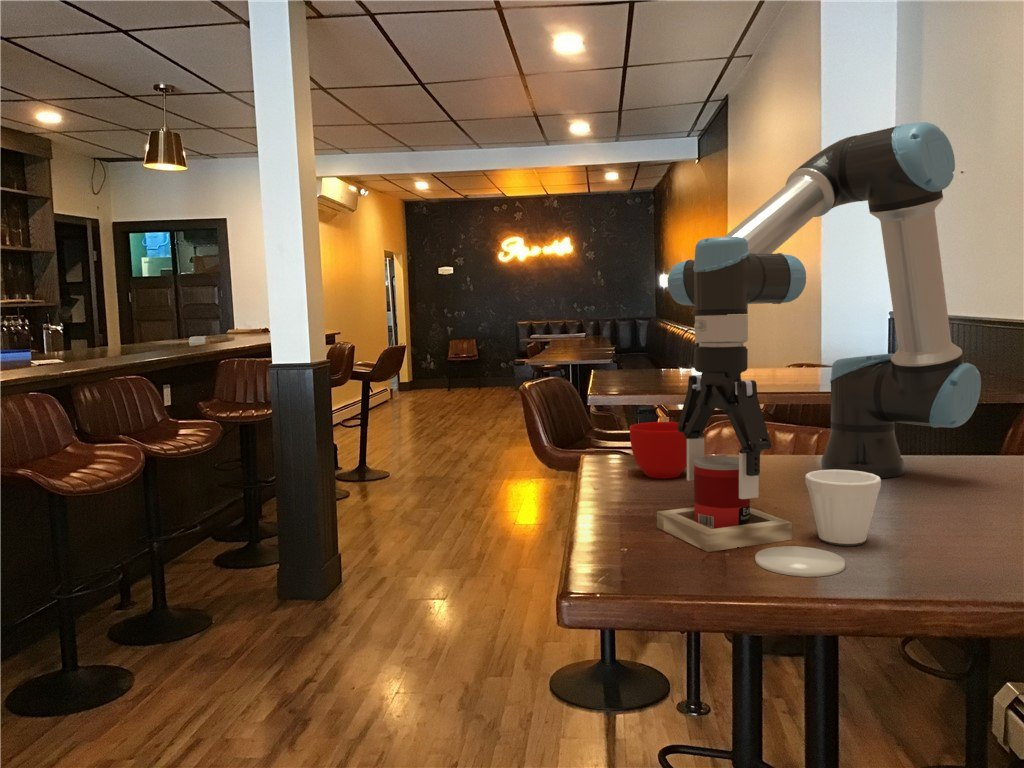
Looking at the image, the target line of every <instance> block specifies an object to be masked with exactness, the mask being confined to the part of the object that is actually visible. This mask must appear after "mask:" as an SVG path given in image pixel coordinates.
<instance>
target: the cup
mask: <svg viewBox="0 0 1024 768" xmlns="http://www.w3.org/2000/svg"><path fill="white" fill-rule="evenodd" d="M804 478H805V485H806V487H807V490H808V494H809V499H810V503H811V507H812V511H813V515H814V520H815V524H816V529H817V533H818V538H819V540H820V541H821V542H824V543H826V544H829V545H834V546H843V547H849V546H850V547H855V546H860V545H863V544H864V543H866V541H867V538H868V534H869V530H870V526H871V523H872V519H873V515H874V511H875V508H876V504H877V501H878V496H879V493H880V490H881V487H882V478H880V477H879V476H877V475H874V474H871V473H867V472H862V471H853V470H822V469H820V470H819V469H818V470H812V471H809V472H808V473H805V477H804Z"/></svg>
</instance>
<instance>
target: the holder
mask: <svg viewBox="0 0 1024 768" xmlns="http://www.w3.org/2000/svg"><path fill="white" fill-rule="evenodd" d="M656 528H657V529H659V530H661V531H662V532H663V531H664V532H665V533H668V534H670V535H672V536H674V537H676V538H678V539H679V540H682V541H684V542H686V543H689V544H690V545H693V546H694V547H697V548H699V549H700V550H703V551H704V552H706V553H710V552H711V553H712V552H718V551H723V550H731V549H738V548H737V547H739V548H745V546H746V547H753V546H760V545H765V544H773V543H780V542H786V541H792V540H793V522H792V521H788V520H785V519H783V518H781V517H780V518H779V517H777V516H774V515H772V514H768V513H766V512H763V511H760V510H758V509H755V508H753V507H750V524H746V525H738V526H731V527H724V528H716V529H711V528H708V527H706V526H704V525H701V524H699V523H697V522H695V507H694V506H692V507H683V508H674V509H668V510H667V509H666V510H659V511H656Z"/></svg>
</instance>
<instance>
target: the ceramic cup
mask: <svg viewBox="0 0 1024 768" xmlns="http://www.w3.org/2000/svg"><path fill="white" fill-rule="evenodd" d="M678 423H679V421H678V422H677V421H652V422H650V421H648V422H639V423H635V424H631V425H630V426H629V439H630V440H629V441H630V447H631V452H632V455H633V458H634V460H635V462H636V464H637V465H638V467H639V468H640V469H641V471H642V472H643V473H644V474H645V476H647V477H648V478H652V479H664V480H665V479H666V478H667V479H675V478H678V477H680V476H681V474H682V473H683V471H684V470H686V469H687V455H686V451H687V450H686V438H685V437H684V434H683V433H682V432H678V429H677V427H678ZM686 424H688V423H686Z"/></svg>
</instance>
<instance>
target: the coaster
mask: <svg viewBox="0 0 1024 768" xmlns="http://www.w3.org/2000/svg"><path fill="white" fill-rule="evenodd" d="M754 558H755V564H756V565H757V566H759V567H760V568H762V569H764V570H766V571H769V572H773V573H775V574H779V575H780V574H781V575H785V576H793V577H807V578H809V577H810V578H811V577H812V578H814V577H815V578H817V577H820V578H821V577H828V576H834V575H837V574H840V573H842V572H843V571H844V570H845V568H846V566H845V565H846V561H845V559H844V558H843V557H841V556H840V555H838V554H837V553H834V552H832V551H827V550H825V549H820V548H814V547H806V546H798V545H797V546H796V545H795V546H794V545H792V546H790V545H788V546H787V545H786V546H785V545H783V546H773V547H767V548H763V549H761V550H758V551H757V552H756V553H755V556H754Z"/></svg>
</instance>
